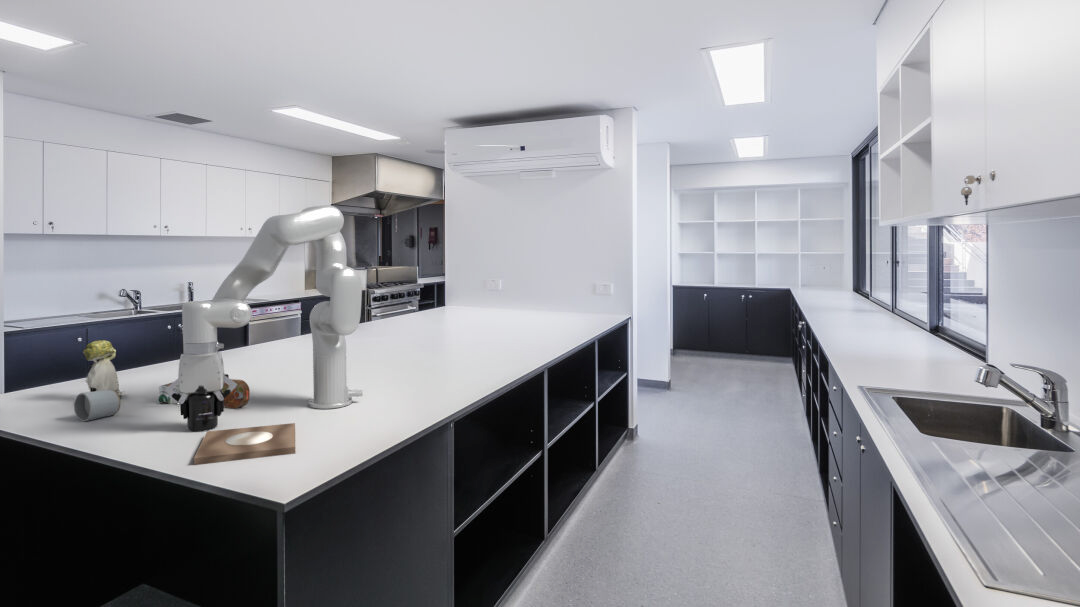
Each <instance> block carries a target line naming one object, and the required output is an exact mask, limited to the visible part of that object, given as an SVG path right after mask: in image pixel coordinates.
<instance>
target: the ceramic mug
mask: <svg viewBox="0 0 1080 607" xmlns="http://www.w3.org/2000/svg"><path fill="white" fill-rule="evenodd" d="M74 399H75V400H74V402H73V404H74V405H73V406H74V414H75V416H76V417H77V419H78V420H79V421H81V422H88V421H93V420H97V418H98V419H103V418H106V416H107V417H110V415H111V416H113V415H115V414H117V413H118V412H119V411H120V408H121V401H122V400H121V397H120V395H118V394H117V393H116V392H115V391H113V390H103V391H94V392H90V391H85V392H81V393H78V394H77V395H76V397H75V398H74Z"/></svg>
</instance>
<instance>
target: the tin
mask: <svg viewBox="0 0 1080 607" xmlns="http://www.w3.org/2000/svg"><path fill="white" fill-rule="evenodd" d="M230 379H231V380H232V381H234V382H235V383H237V386H236V387H235V388H234V389H233V391H232V392H231V393H230V394H229V395H228V396H227V397H226V398H225V399H224V408H227V407H229V408H228V409H238V408H242V407H245V406H246V405H248V403H249V401H250V395H251V393H250V391H251V390H250V387H249V385H248V383H247V382H246V381H245V380H243V379H235V378H230ZM228 387H229V385H228V384H226V383H225V385H224V386H223V388H222V389H221V390H222V392H224V391H225V390H227V389H228ZM217 399H218V398H217Z"/></svg>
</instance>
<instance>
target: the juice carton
mask: <svg viewBox="0 0 1080 607" xmlns="http://www.w3.org/2000/svg"><path fill="white" fill-rule="evenodd" d="M224 375H225V376H226V377H228V378H229V374H227V373H226V374H225V373H224ZM229 379H230V378H229ZM173 382H174V381H172V382H169V383H166V384H162V385H159V386H158V399H157V401H158V403H159V402H165V403H168V404H170V403H179V402H178V401H176V400H175V399H174V398H172V396H171V395H169V394H168V393H167V392H166V391H165V389H166V388H167V387H168V386H169V385H171V384H172V383H173ZM174 390H175V391H176V392H177V393H179V394H180V395H181V396H182V394H183V393H180V392H179V390H178V386H176V387H175V388H174ZM190 394H191V393H189V395H190ZM189 395H188V396H189ZM186 399H187V398H186Z"/></svg>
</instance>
